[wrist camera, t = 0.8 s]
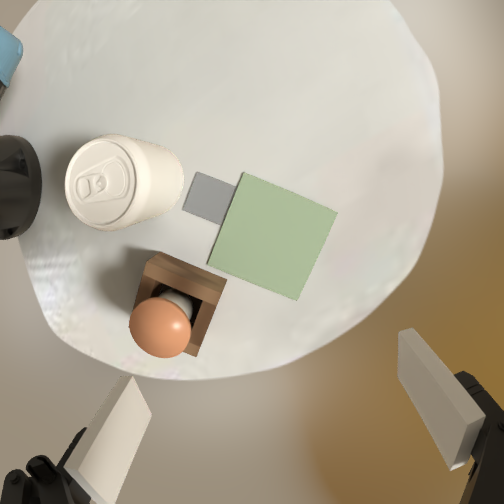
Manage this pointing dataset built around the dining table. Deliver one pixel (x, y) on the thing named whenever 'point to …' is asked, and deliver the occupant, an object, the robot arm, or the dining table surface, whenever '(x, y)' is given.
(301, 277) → the pad
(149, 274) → the housing
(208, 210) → the pad
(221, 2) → the dining table surface
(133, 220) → the beverage can
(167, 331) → the plunger
